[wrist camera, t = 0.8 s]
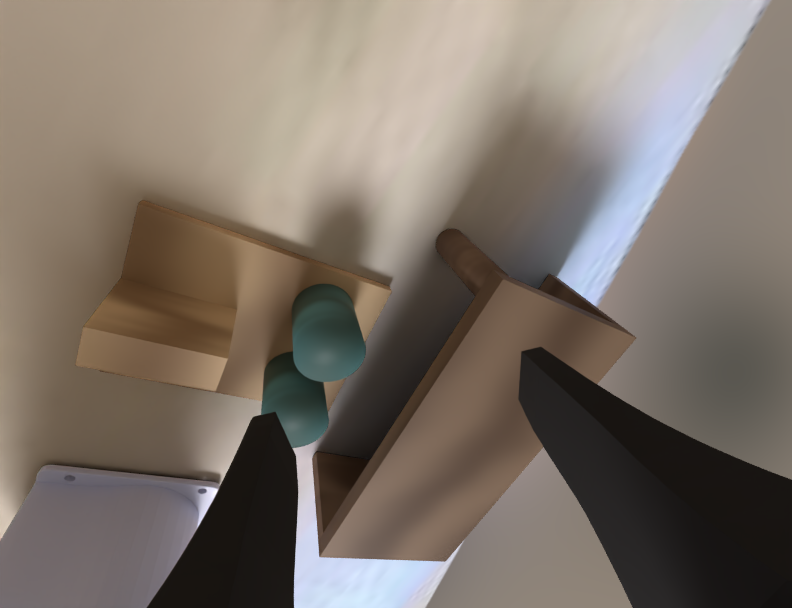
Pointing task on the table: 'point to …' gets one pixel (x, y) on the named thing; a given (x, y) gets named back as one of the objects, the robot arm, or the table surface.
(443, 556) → the wooden caddy
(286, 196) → the table surface
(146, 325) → the tray
